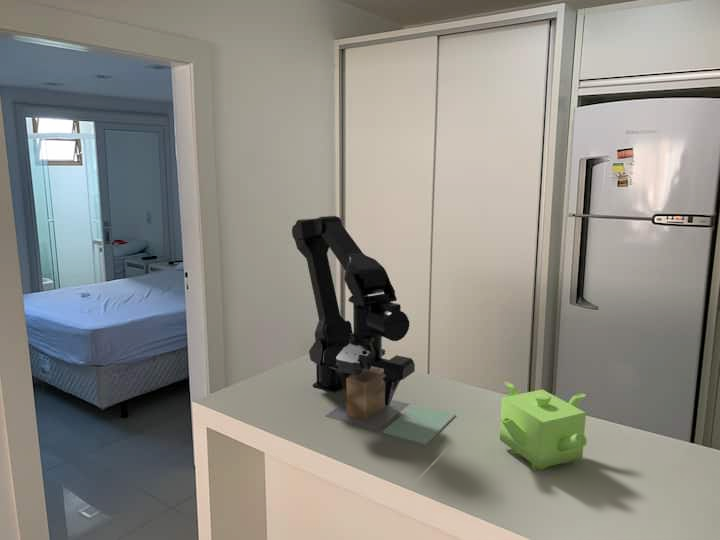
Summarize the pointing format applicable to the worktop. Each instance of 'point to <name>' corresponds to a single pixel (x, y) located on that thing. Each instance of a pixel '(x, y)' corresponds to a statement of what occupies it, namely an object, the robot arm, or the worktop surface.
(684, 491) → the worktop surface
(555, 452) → the green knobbed block
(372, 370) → the walnut block
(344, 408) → the plate
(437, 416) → the green mat
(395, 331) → the robot arm
